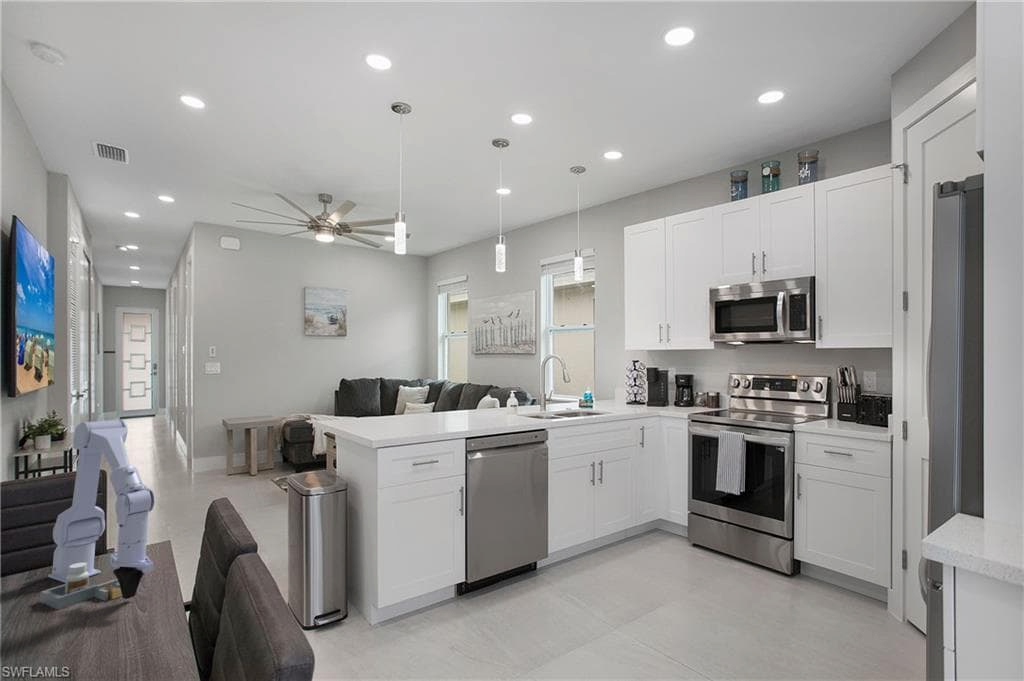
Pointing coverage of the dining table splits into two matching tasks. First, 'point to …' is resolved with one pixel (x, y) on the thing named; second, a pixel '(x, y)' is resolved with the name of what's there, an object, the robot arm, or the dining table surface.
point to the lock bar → (113, 591)
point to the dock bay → (75, 594)
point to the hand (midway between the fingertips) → (128, 597)
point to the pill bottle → (76, 578)
